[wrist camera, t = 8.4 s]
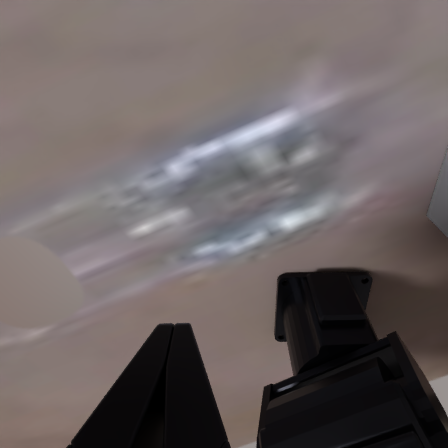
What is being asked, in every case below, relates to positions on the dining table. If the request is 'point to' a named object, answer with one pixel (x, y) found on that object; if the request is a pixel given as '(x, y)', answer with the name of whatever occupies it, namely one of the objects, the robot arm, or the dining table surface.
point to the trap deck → (440, 199)
